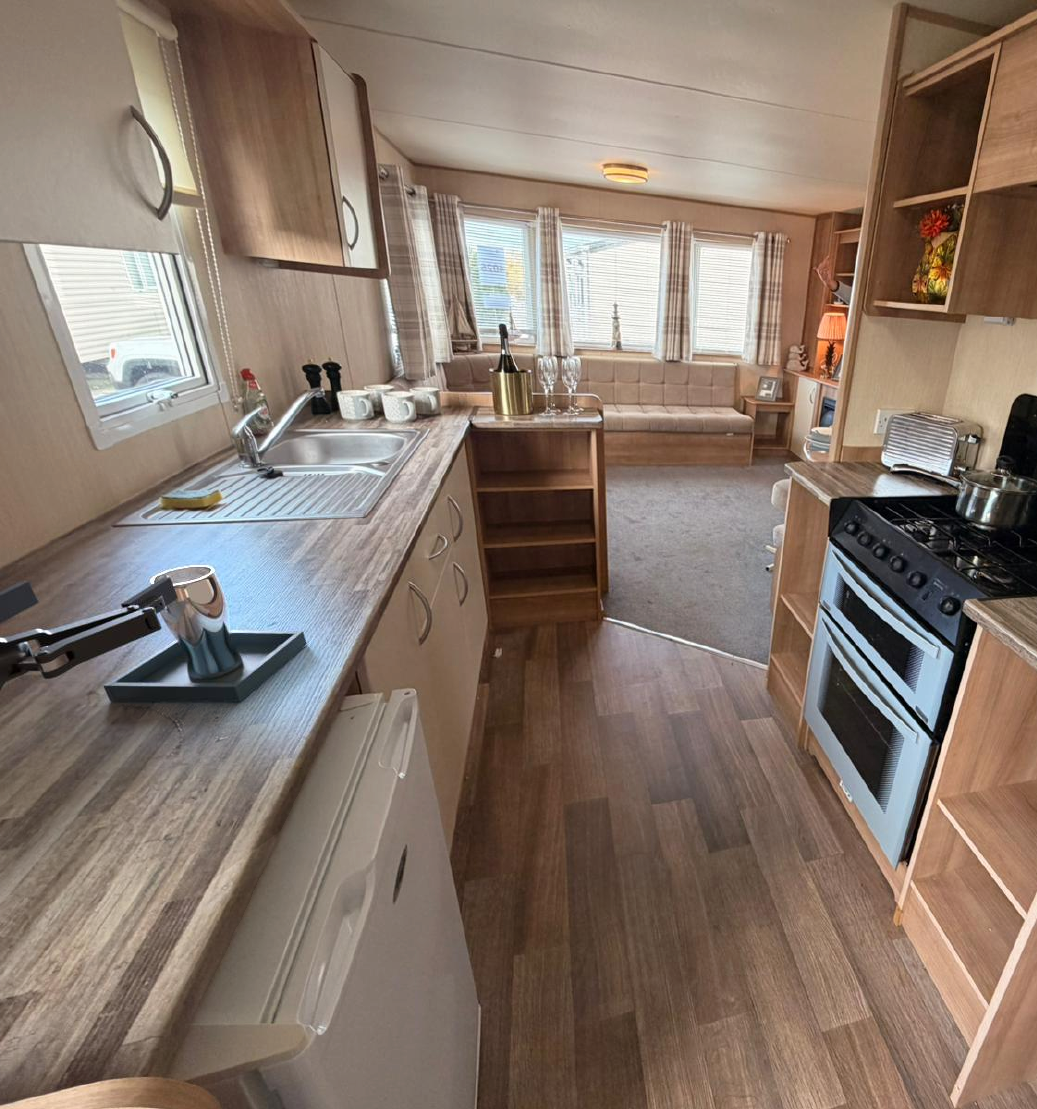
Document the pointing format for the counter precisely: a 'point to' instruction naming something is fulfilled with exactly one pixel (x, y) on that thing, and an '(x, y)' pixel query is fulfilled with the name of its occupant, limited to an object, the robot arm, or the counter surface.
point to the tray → (171, 683)
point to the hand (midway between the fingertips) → (101, 589)
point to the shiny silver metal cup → (200, 622)
